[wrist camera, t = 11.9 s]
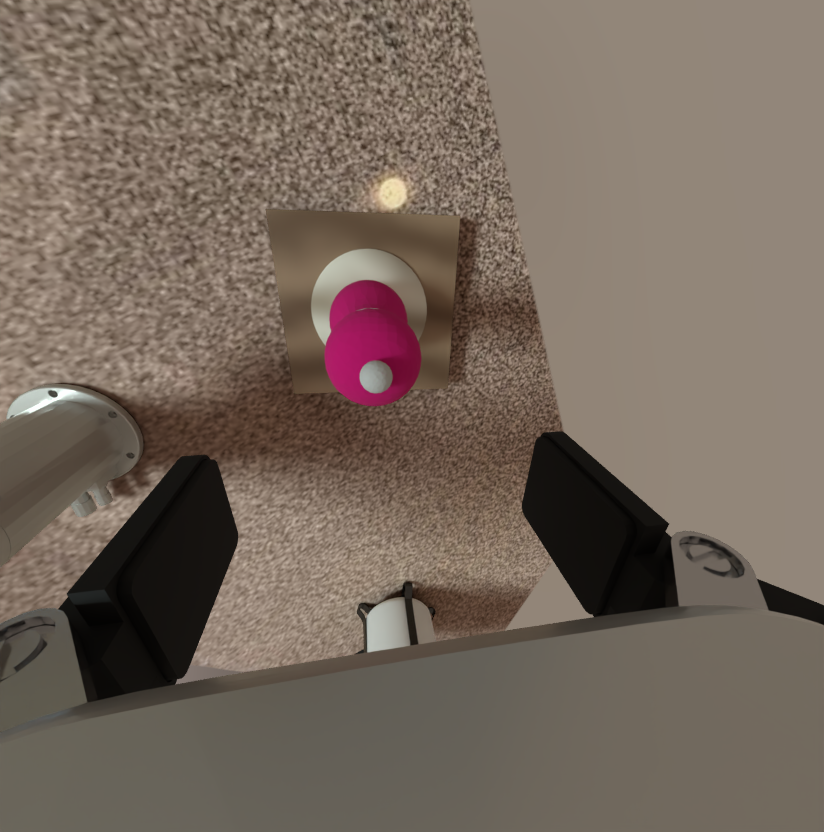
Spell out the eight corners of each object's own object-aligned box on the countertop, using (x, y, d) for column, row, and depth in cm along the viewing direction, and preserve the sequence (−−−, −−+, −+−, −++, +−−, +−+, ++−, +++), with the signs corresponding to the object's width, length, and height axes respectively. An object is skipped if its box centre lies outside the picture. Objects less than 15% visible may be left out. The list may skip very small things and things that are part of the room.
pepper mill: (337, 349, 36) (316, 448, 18) (327, 277, 33) (291, 314, 15) (403, 345, 37) (444, 436, 19) (400, 274, 33) (446, 306, 16)
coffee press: (365, 574, 57) (371, 860, 30) (448, 586, 61) (515, 843, 35) (336, 635, 63) (321, 913, 37) (413, 641, 68) (448, 893, 42)
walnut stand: (443, 380, 42) (448, 389, 40) (297, 385, 40) (293, 395, 38) (453, 217, 34) (461, 215, 32) (272, 211, 32) (264, 208, 29)
